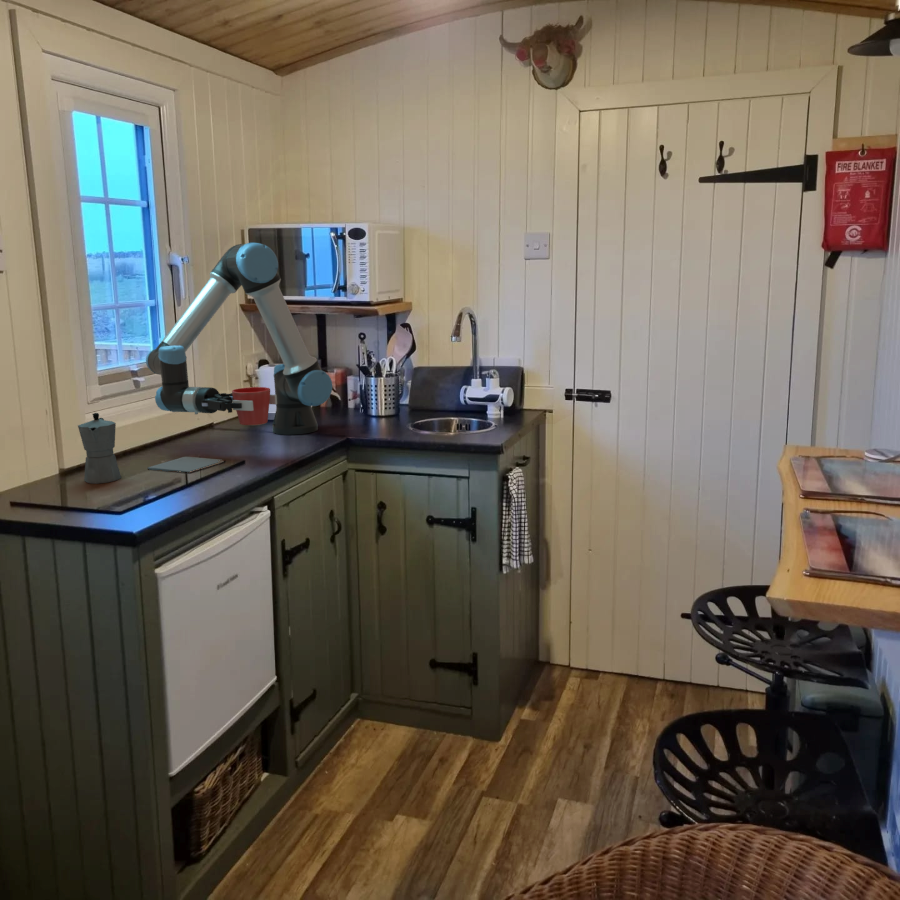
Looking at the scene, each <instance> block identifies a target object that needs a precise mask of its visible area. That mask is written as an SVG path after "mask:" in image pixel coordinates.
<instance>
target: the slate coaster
mask: <svg viewBox="0 0 900 900" xmlns="http://www.w3.org/2000/svg"><path fill="white" fill-rule="evenodd" d="M218 460H219V461H220V460H221V459H219V458H218V459H216V458H205V457H194V456H182V457H179V458H176V459H172V460H169V461H165V462H162V463H159V464H155V465H152V466H147V470H148V469H149V470H148V471H157V470H162V471H161V472H168V471H178V472H179V471H181V472H190V471H193V470H196V469H199V468H203V467H206V466H209V465H212V464H215V463H218V462H219V461H218ZM178 472H177V473H178Z"/></svg>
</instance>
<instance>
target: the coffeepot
mask: <svg viewBox="0 0 900 900" xmlns="http://www.w3.org/2000/svg"><path fill="white" fill-rule="evenodd" d="M99 416H100V414H99V412H94V413H92V418H93V420H90V421H87V422H84V423H81V424H77V428H78V431H79V435H80V439H81V441H82V446H83V449H84V451H85V453H86V457H85V462H84V463H85V465H84V479H83V480H84V481H85V483H86V484H97V485H98V484H105V483H113V482H115V481H118V480H121V478H122V475H121V471H120V468H119V465H118V461H117V457H116V455H115V454H114V448H115V446H116V445H115V444H116V427H117V426H116V425H117V423H116V422H114V421H112V420H105V419H104V418H103V417H99Z"/></svg>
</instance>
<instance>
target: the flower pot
mask: <svg viewBox="0 0 900 900" xmlns="http://www.w3.org/2000/svg"><path fill="white" fill-rule="evenodd" d="M231 393H232V395H233V399H234V400H247V401H253V409H254V410H253V411H244V410H235V411H236V415H237V418H238V422H239V424H240V425H241V426H260V425H264V424H267V423H268V418H269V409H270V404H269V401H270V395H271V388H270V387H266V386H259V387H258V386H254V387H253V386H251V387H241V388H235V389H232V390H231Z"/></svg>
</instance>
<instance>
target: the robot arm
mask: <svg viewBox="0 0 900 900" xmlns="http://www.w3.org/2000/svg"><path fill="white" fill-rule="evenodd" d="M278 261H279V260H278V257H277V255H276V253H275V252H274V251H273V250H272V248H271V247H269V246H268V245H266V244H263V243H260V242H247V243H240V244H235V245H233V246H231V247H230V248H228V249H227V250H226V252H224V254H223V255H222V256H221V257H220V259H219V260H218V262H217V263H216V264H215V265H214V267H213V268H212V270H211V271H210V273H209V279H208V280H207V282H206V283H205V285H204V286H203V287H202V288H201V290H200V291H199V292H198V293H197V295H196V296H195V298H193V300H192V301H191V303H190V304H189V305H188V307H187V308H186V309H185V310H184V311H183V313H182V314H181V316H180V317H179V318H178V320H177V321H176V322H175V323H174V325H173V326H172V328H171V329H170V330H169V331H168V332H167V334H166V335H165V337H164V338H163V339H162V340H161V342H160V343H159V344H158V345H157V347H155V349H151V351H149V352H148V353H147V355H146V357H145V364H146V367H147V368H148V369H149V370H150V371H151V372H152V373H153V374H156V375H160V376H161V386H159V387H158V389H156V391H155V393H156V394H155V398H154V401H155V403H156V405H157V406H156V407H158V409H160V410H162V411H166V412H172V413H194V415H198V414H199V413H200V414H215V413H217V411H220V412H225V411H227V413H228V414H229V413H233V411H236V410H244V411H253V410H254V409H253V401H247V400H234V399H233V395H232V392H230V393H226V392H223V393H222V392H221V393H220V392H219V390H218V389H217V388H214V387H210V386H209V387H205V386H204V387H203V386H190V385H189V376H188V364H187V354H186V352H187V351H188V349H190V347H191V346H192V345H193V343H194V342H195V341H196V340H197V338H198V336H199V335H200V334H201V332H202V331H203V330H204V329H205V328H206V326H207V324H209V322H210V321H211V319H212V318H214V316H215V314H216V313H217V312H218V310H219V309H220V308H221V307H222V305H223V304H224V303H225V301H226V300H227V299H228V298H229V296H230V295H231V294H235V293H236V292H237V291H238V290H239V288H241V287H242V289H243V291H244V293H245V295H247V296H250V297H252V298H253V300H254V303H255V304H256V308H257V309H258V311H259V313H260V315H261V318H262V320H263V321H264V324H265V327H266V328H267V330H268V332H269V335H270V338H271V339H272V341H273V343H274V345H275V348H276V350H277V352H278V354H279V356H280V358H281V361H282V363H281V364H276V365H275V366H274V367H273V380H274V381H273V382H274V391H275V392H274V393H275V394H270V401H269V405H276V407H275V408H276V409H275V414H274V417H273V422H272V427H271V429H272V433H273V434H275V433H276V435H284V436H285V435H286V436H287V435H289V436H291V435H294V436H295V435H303V434H309V433H311V434H312V433H313V432H314V433H315V432H317V431H318V429H319V428H318V427H319V426H318V422H317V419H316V417H315V414H314V411H313V407H317V406H321V405H322V404H325V402H326V401H328V400H329V398H330V397H331V394H332V392H333V381H332V379H331V376H330V375H329V374H328V373H327V371H324V370H322V367H321V365H320V363H319V361H318V359H317V358H316V357H315V356H312V355H310V353H309V350H308V348H307V346H306V344H305V342H304V339H303V337H302V335H301V333H300V331H299V329H298V326H297V324H296V322H295V320H294V317H293V315H292V313H291V311H290V308H289V307H288V304H287V302H286V300H285V297H284V295H283V293H282V290H281V289H280V283H281V281H282V279H281V275H280V274H279V272H278V270H279V262H278Z"/></svg>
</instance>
